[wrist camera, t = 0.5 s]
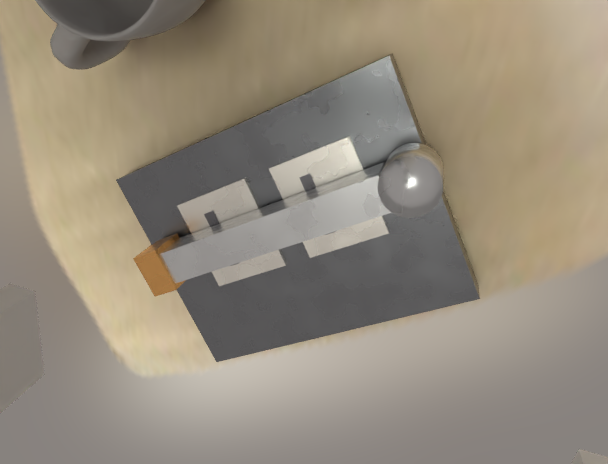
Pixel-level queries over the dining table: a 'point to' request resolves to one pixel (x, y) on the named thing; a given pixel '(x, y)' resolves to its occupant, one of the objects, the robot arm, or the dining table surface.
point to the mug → (109, 26)
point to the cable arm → (300, 218)
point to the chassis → (315, 252)
